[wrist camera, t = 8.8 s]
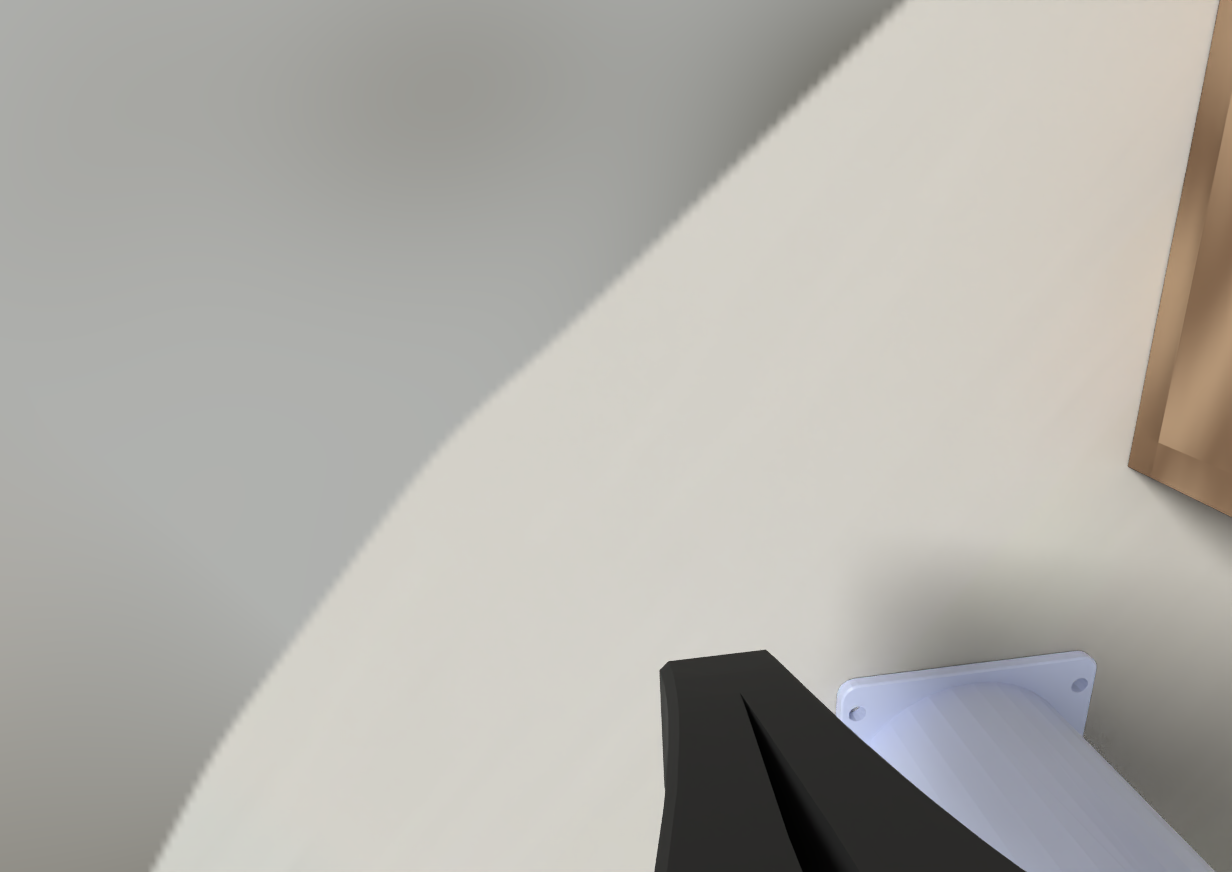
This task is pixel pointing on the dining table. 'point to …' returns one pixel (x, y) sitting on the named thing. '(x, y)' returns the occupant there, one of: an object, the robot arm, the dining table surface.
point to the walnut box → (1196, 311)
